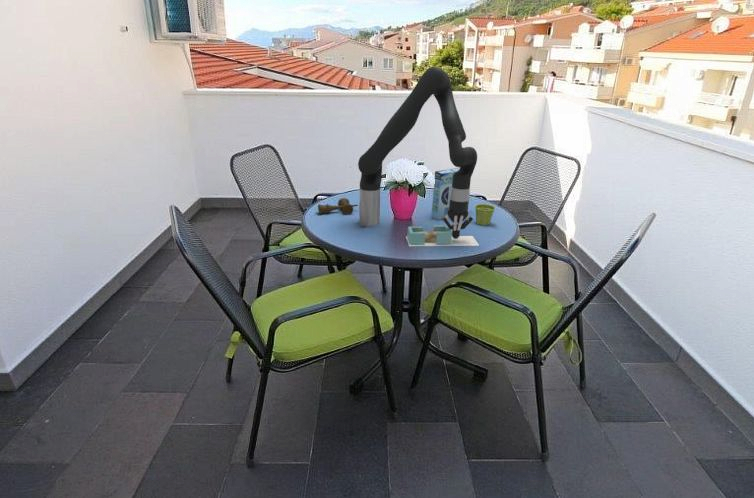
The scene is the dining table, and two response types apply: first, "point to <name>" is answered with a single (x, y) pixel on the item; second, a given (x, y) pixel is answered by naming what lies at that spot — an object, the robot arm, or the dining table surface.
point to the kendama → (337, 207)
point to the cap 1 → (416, 236)
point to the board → (454, 242)
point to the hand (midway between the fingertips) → (455, 238)
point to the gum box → (442, 192)
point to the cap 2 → (442, 234)
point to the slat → (430, 237)
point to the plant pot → (484, 213)
